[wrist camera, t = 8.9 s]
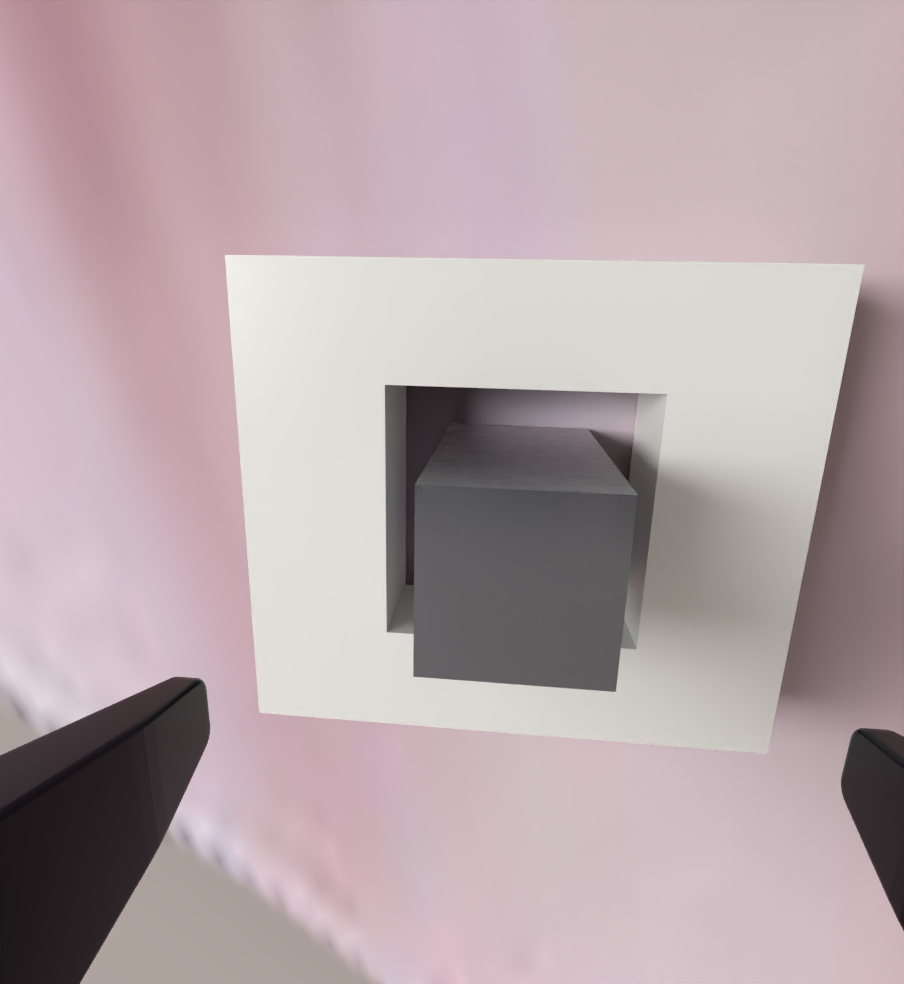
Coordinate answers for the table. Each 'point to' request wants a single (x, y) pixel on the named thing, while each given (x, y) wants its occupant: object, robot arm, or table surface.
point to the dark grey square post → (521, 558)
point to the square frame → (537, 366)
